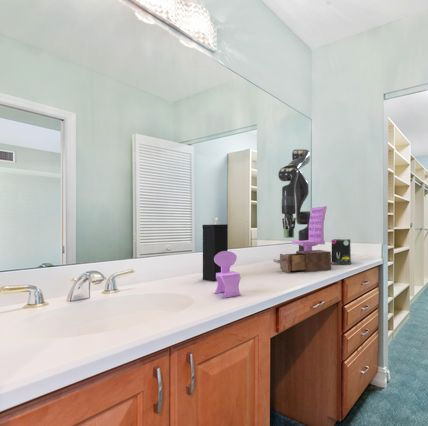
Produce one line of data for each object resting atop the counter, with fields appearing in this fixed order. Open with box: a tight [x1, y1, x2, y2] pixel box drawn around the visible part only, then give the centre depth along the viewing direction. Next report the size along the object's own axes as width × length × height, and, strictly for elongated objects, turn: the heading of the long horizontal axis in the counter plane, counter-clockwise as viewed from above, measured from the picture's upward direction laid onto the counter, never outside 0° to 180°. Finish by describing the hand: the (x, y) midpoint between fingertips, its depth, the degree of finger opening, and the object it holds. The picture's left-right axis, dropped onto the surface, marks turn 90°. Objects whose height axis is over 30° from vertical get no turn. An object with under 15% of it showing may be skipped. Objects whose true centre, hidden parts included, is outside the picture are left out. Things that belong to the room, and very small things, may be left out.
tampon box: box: [330, 238, 352, 266], centre depth 171 cm, size 11×9×15 cm
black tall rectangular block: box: [202, 216, 229, 282], centre depth 127 cm, size 8×8×28 cm
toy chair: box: [214, 250, 241, 299], centre depth 99 cm, size 8×9×15 cm
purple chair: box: [291, 205, 328, 251], centre depth 170 cm, size 15×17×35 cm
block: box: [283, 229, 295, 239], centre depth 148 cm, size 4×4×4 cm
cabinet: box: [295, 249, 332, 273], centre depth 150 cm, size 15×13×10 cm
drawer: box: [273, 252, 306, 273], centre depth 145 cm, size 18×11×8 cm, turn 115°
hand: (288, 236), depth 148 cm, fingers closed on block, 4 cm apart
